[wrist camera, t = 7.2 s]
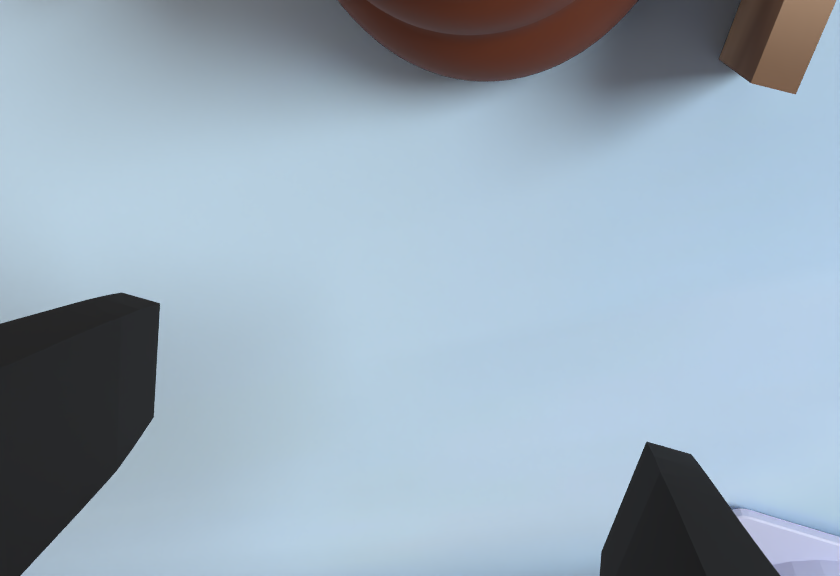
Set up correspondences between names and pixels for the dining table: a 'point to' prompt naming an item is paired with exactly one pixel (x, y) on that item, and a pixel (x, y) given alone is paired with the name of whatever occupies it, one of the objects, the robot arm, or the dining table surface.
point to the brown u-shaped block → (775, 40)
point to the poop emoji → (487, 32)
